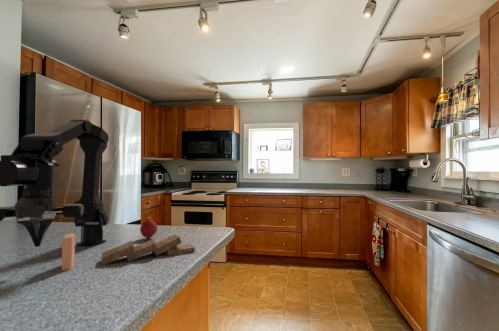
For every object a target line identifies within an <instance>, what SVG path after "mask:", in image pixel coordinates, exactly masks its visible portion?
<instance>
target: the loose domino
mask: <svg viewBox="0 0 499 331" xmlns="http://www.w3.org/2000/svg"><path fill="white" fill-rule="evenodd" d="M61 244H62V245H61V247H62V248H61V271H67V270H68V271H69V270H72V268H73V267H74V264H75V253H76V252H75V251H76V250H75V248H76V233H66V234H65V235H64V236H63V237H62V241H61Z"/></svg>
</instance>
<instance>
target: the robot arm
mask: <svg viewBox="0 0 499 331" xmlns="http://www.w3.org/2000/svg"><path fill="white" fill-rule="evenodd" d="M74 139H76V140H77V141H79V147H80V149H81V150H82V152H83V154H84V157H83V158H84V160H83V171H82V172H83V173H82V183H81V184H82V186H81V196H80V198H79V199H78V200H76V201H74V202H73V203H66V204H65V205H63V206H59V207H58V206H57V207H55V206H56V199H55V195H54V191H55V186H54V185H55V167H57V168H58V167H60V164H59V163H58V162H57V161H56V160H55V159H54V158H56V157H58V155H60V153H61V152H63V150H64V146H65V145H66V144H68V143H69V142H71V141H73V140H74ZM109 140H110V138H109V134H108V132H106V130H104V128H102V127H100V126H98V125H95V124H94V123H92V122H91V121H90V120H88V119H79V118H78V119H72V120H69V121H68V122H67V123H65V124H63V125H60V126H58V127H56V128H53V129H51V130H50V131H46V132H39V133H38V132H36V133H31V134H25V135H24V136H22V137H21V138H20V142H19V143H18V144H17V145H16V147H15V148H14V150H13V151H12V152H11V154H9V155H8V154H4V155H0V187H16V186H17V187H19V186H24V187H23V189H22V195H21V197H20V198H19V199H18V200H17V201H16V203H15V204H14V205H13V206H12V205H11V206H9V205H8V206H0V222H2V221H3V220H5V219H6V218H16V219H17V220H16V224H21V225H22V226H24V227H25V229H26V230H27V232H28V234H29V237H31V240H32V242H33V245H34V246H35V248H37V247H40V246H41V245H42V243H43V241H44V239H45V236H46V234H47V231H48V230H49V228H50V226H51V224H52V223H53V222H55V221H56V220H58V219H59V216H60V215H62V216H64V217H65V218H73V221H74V225H75V227H77V228H78V227H80V241H78V242H75V245H76V246H77V245H78V246H84V247H85V246H86V247H92V246H95V245H99V244H102V243H105V242H107V240H106V239H104V229H103V227H104V226H107V225H108V223H109V217H108V215H107V213H106V211H105V210H104V203H103V202H102V200H101V198H100V196H99V195H100V194H99V193H100V192H99V191H100V175H101V162H102V161H101V160H102V159H101V158H102V154H103V153H104V152H105V151H106V149H107V148H108V143H109ZM40 218H41V219H40Z"/></svg>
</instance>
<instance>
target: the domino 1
mask: <svg viewBox="0 0 499 331" xmlns="http://www.w3.org/2000/svg"><path fill="white" fill-rule="evenodd" d="M133 252H135V244H134V242H133V240H130V241H128V242H125V243H123V244H120V245H118V246H116V247H113V248H111V249H109V250H106V251H104V252H102V254H101V258H100V259H101V262H102V264H103V266H105V265H108V264H110V263H113V262H115V261H117V260H119V259H122V258H123V257H126V255H129V254H131V253H133Z"/></svg>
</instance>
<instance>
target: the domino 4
mask: <svg viewBox="0 0 499 331" xmlns="http://www.w3.org/2000/svg"><path fill="white" fill-rule="evenodd" d="M195 251H196V250H195V246H194V245H192V244H191V243H184V244H178V245H177V246H175V247H173V248H171V249H169V250H167V251H165V252H164V253H165V254H166V255H167V256H168V257H169V256H179V255H183V254H191V253H195Z"/></svg>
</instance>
